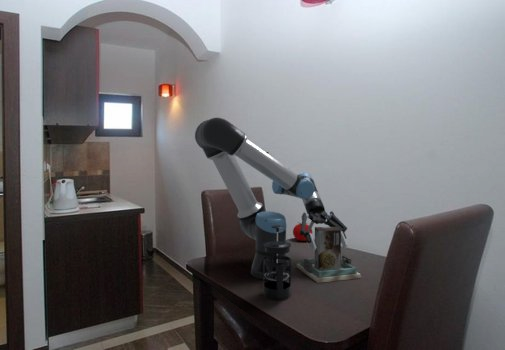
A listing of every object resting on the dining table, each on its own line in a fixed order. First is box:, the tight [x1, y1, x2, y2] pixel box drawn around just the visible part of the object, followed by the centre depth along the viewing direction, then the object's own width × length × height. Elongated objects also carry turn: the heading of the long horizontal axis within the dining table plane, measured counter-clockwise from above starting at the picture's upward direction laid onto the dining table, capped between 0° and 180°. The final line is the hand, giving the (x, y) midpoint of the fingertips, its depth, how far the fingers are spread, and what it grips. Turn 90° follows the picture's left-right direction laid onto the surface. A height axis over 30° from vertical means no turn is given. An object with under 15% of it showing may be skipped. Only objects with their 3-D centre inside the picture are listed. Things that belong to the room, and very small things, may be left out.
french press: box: [262, 225, 292, 301], centre depth 115 cm, size 12×9×23 cm
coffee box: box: [314, 226, 342, 271], centre depth 137 cm, size 9×6×16 cm
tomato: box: [292, 222, 313, 242], centre depth 188 cm, size 10×10×10 cm
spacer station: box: [296, 254, 362, 284], centre depth 138 cm, size 18×18×6 cm
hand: (330, 248), depth 135 cm, fingers open, 13 cm apart
